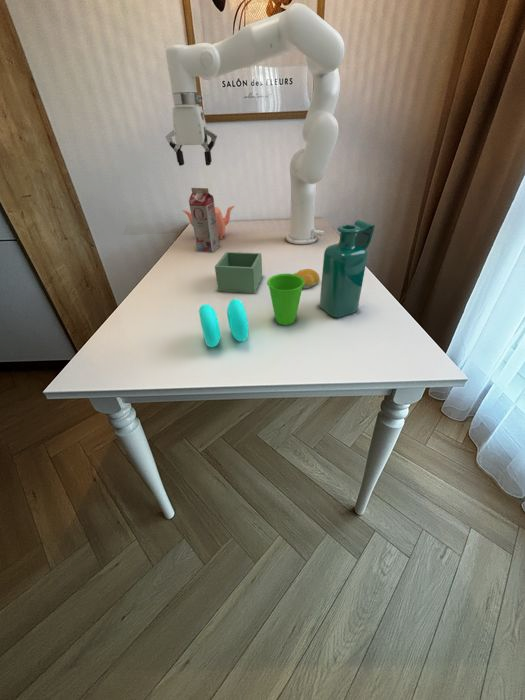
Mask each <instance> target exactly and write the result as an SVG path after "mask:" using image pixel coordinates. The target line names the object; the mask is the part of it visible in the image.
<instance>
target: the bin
mask: <svg viewBox="0 0 525 700" xmlns="http://www.w3.org/2000/svg"><path fill="white" fill-rule="evenodd" d="M262 260H263V258H262V253H261V252H240V251H239V252H237V251H225V252H224V254H223V255H222V257H221V258H220V259H219V260H218V261H217V263H216V264H215V266H214V270H215V271H214V272H215V278H216V286H217V292H226V293H242V294H243V293H244V294H256V291H257V290H258V288H259V285H260V283H261V280H262V278H263V261H262Z"/></svg>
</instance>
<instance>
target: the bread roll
mask: <svg viewBox="0 0 525 700" xmlns="http://www.w3.org/2000/svg"><path fill="white" fill-rule="evenodd" d="M293 274H295V275H298V276H300V277H302V278H303V279H304V281H305V284H304V286H303V287H302V289H310V288H312V287H313V286H316V285H317V284H318V283H320V279H321V278H320V275H319V273H318V272H317V270H315V269H311V268H305V269H300V270H298V271H296V272H295V273H293Z"/></svg>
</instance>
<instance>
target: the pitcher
mask: <svg viewBox="0 0 525 700" xmlns="http://www.w3.org/2000/svg"><path fill="white" fill-rule="evenodd" d="M375 227H376V225H375V224H372V223H370V222H367V221H365V220H361V219H357V220H356V221H355V222H354V224H350V223H349V224H341V225H338V226H337V227H336V231H338V232H339V241H338V243H333V244H330V245H328V246H327V247H326V248H325V250H324V252H323V263H322V271H321V273H322V274H321V282H320V283H321V285H320V294H319V308H320V309H322V311H324V312H326V313H327V314H328V315H329V316H331V317H332V318H337V319H339V318H340V319H341V318H343V317H345V316H346V317H347V316H348V315H349V316H350V315H352V314H355V313H357V312H358V310H359V304H360V300H361V299H360V298H361V294H362V293H361V292H362V286H363V281H364V277H365V271H366V265H367V259H368V250H367V249H368V247H369V246H370V245H371V242H372V240H373V239H372V238H373V235H374V231H375Z"/></svg>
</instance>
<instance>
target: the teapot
mask: <svg viewBox="0 0 525 700" xmlns="http://www.w3.org/2000/svg"><path fill="white" fill-rule="evenodd" d="M235 207H236V206H235V205H231V206H229V207H227V208H226V212H225V216H223V213H222V211H221V209H220V207H218V206H215V214H216V222H217V230H218V238H219V240H223V238H224V237H223V236H225V233H226V226H227V225H228V224H229V222H230V219H231V212H232V209H233V208H235ZM181 211H182V212H183V213H185V214H186V215H187V217H188V220H189V223H190V225H191V226H192V227H193V222H192V217H191V211H189V210H185V209H184V210H181Z"/></svg>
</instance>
